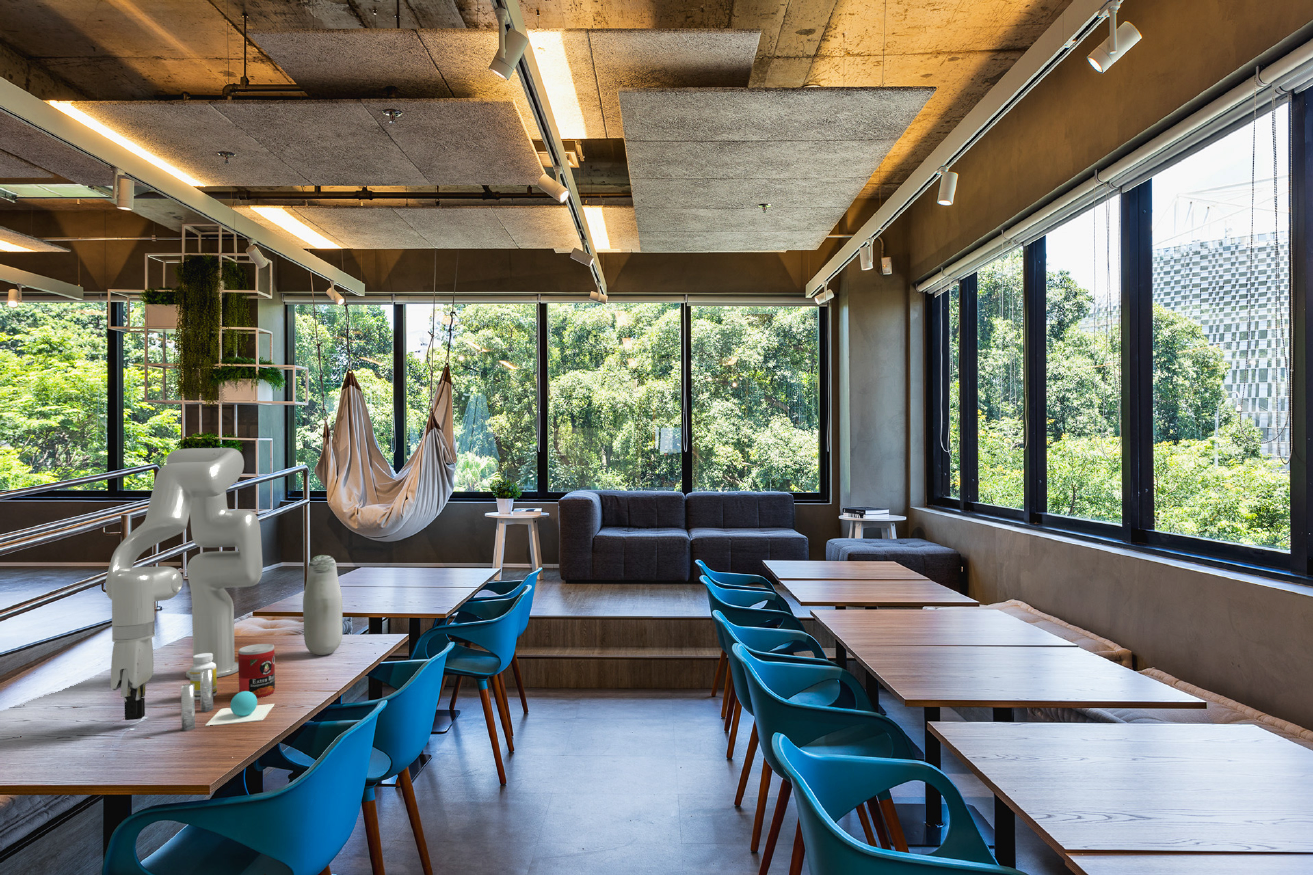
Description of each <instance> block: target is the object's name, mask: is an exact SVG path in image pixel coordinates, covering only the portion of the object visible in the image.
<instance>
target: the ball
mask: <svg viewBox="0 0 1313 875" xmlns="http://www.w3.org/2000/svg"><path fill="white" fill-rule="evenodd" d="M257 705H258V698H256V696H255V695H254V694H253V693H252V692H249V691H243V692H240V693H239V692H238V693H237V694H235V695H234V696H233V697H232V699H231V701H230V704H229V706H230V707H229V708H231V711H232V712H233V713H234V714H235V715H237V716H247V715H249V714H251V713H252V712H253V711H254V710H255V708H256V706H257Z"/></svg>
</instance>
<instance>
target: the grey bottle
mask: <svg viewBox="0 0 1313 875" xmlns="http://www.w3.org/2000/svg"><path fill="white" fill-rule="evenodd" d="M337 567H338V566H337V563H336V560H335V559H334V557H333V556H331V555H327V554H320V555H316V556H314V557H313V558H311V560H310V561H309V562H308V566H307V578H306V583H305V587H304V591H303V598H302V615H303V616H302V617H303V639H304V644H305V647H306V649H307V650H308V651H309V652H310V653H311V654H314V655H318V656H324V655H329V654H333V652H336V650H337V649H338V648H339V647H340V645H341V643H342V640H343V595H342V594H343V593H342V589H341V588H342V587H341V586H340V582H339V581H340V580H339V576H338V568H337Z"/></svg>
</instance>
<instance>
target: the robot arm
mask: <svg viewBox="0 0 1313 875" xmlns="http://www.w3.org/2000/svg"><path fill="white" fill-rule="evenodd" d="M244 468H245V460H244V456H243V454H242V452H240V450H238V449H236V448H233V447H214V448H213V447H210V448H209V447H201V448H200V447H198V448H196V447H195V448H193V447H191V448H182V449H181V448H180V449H175V450H173V451H171V452H169V454H168V455H167V457H166V464H165V465H162V467H160V469H159V470H157V473H156V477H155V481H154V484H153V489H152V492H151V496H150V500H149V503H148V507H147V511H146V516H145V520H144V521H143V522H142V523H141V524H140V525H139V526H137V528H135V529H134V530H132V531H131V532H130V533H129V534H128V535H127V536H126V537H125V538H124V539H123V540H122V541H121V542H120V544H119V545H118V546H117V547H116V548H115V549H114V552H113V554H112V556H111V560H110V564H109V567H108V570H107V575H106V579H105V585H104V586H105V593H106V596H107V597H108V598H109V599H110V600H111V632H112V633H111V636H112V637H111V641H112V642H113V646H112V652H111V653H112V654H111V665H110V666H111V667H110V689H111V691H117V690H118V689H120V698H123V703H124V720H125V721H131V720H141V719H142V718H143V717H145V716H146V705H145V702H146V699H145V698H146V697H145V696H146V685H147V684H148V682H149V680H150V679H151V678H152V677H153V674H154V665H155V664H154V648H153V647H154V645H153V638H154V637H155V636H156V630H155V629H156V628H155V626H156V625H155V624H156V623H155V618H156V617H155V614H156V613H155V612H156V611H155V602H159V601H161V602H162V601H168V600H170V599H172V598H174V597H176V596H177V595H178V594H179V593H180V591H181V590H182V587H183V584H184V583H183V582H184V580H183V578H184V577H183V575H182V573H181V572H180V571H179V569H177V568H175V567H173V566H165V565H164V566H163V565H162V566H135V567H133V566H134V564H135V562H136V560H137V559H138V558H139V557H140V555H142V554H143V553H144V552H145V551H147V550H149V549H150V548H151V547H154V546H155V545H158V544H159V543H162V542H163V541H166V540H168V539H170V538H173V537H175V536H177V535H180V534H181V533H183V532H184V531H185V530H186V529H187V527H188V523H189V520H190V530H191V537H192V541H193V544H195V545H196V546H198V547H200V548H233V547H236V549H237V550H231V551H229V550H222V551H221V550H220V551H205V552H204V551H203V552H201V553H198V554H196V555H194V556H192V558H191V559H190V560H189V561H188V564H187V566H186V567H187V568H186V574H187V579H188V580H187V581H188V584H189V588H190V594H191V614H192V616H191V617H192V620H191V621H192V622H191V623H192V628H191V629H192V657H193V656H195V655H198V654H203V653H212V654H213V660H212V662H213V663H215V664H216V675H217V678H220V677H225V676H229V675H233V674H235V673H237V672H238V673H239V669H238V661H237V662H236V660H235V659H236V657H235V656H236V654H235V652H236V651H235V606H234V601H233V599H232V597H231V595H230V594H229V593H228V591H227V590H226V588H227V589H228V588H229V589H230V588H246V587H254V586H255V585H257V584H259V582H260V581H261V579H262V576H263V570H264V569H263V568H264V567H263V548H262V534H261V532H262V531H261V525H260V521H259V520H260V519H259V518H258V516H257V515H256V513H255V512H254V511H251V510H247V509H235V510H233V509H231V510H230V509H229V508H228V500H227V492H226V491H227V490H229V489H230V488H231V487H232V485H234V484H235V483H236V482H237V481H238V480H239V479H240V477H241V476H242V474H243V471H244ZM193 665H194V663H193V662H192V666H193ZM185 676H186V678H187V679H190V668H189V669H188V670H186V674H185Z"/></svg>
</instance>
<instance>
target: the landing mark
mask: <svg viewBox="0 0 1313 875" xmlns="http://www.w3.org/2000/svg"><path fill="white" fill-rule="evenodd" d="M274 706H275V703H270V704H269V703H267V704H257V706H256V708H255V710H254V711H253V712H252V713H251V714H249V715H247V716H237V715H235V714H234V713H233V712H232V711H231V708H230V707H225V708H220V709H219V710H218V712H216V713H215V715H213V717H212V718H210V719H209V721H208V722H206V723H205V727H209V726H210V725H213V726H222V725H231V724H233V725H234V724H240V723H250V722H253V723H254V722H261V721H263V720H264V719H265V718H266V717H267V716H268V714H269V713H270V712H271V710H272V709H273V707H274ZM210 727H211V726H210Z"/></svg>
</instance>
